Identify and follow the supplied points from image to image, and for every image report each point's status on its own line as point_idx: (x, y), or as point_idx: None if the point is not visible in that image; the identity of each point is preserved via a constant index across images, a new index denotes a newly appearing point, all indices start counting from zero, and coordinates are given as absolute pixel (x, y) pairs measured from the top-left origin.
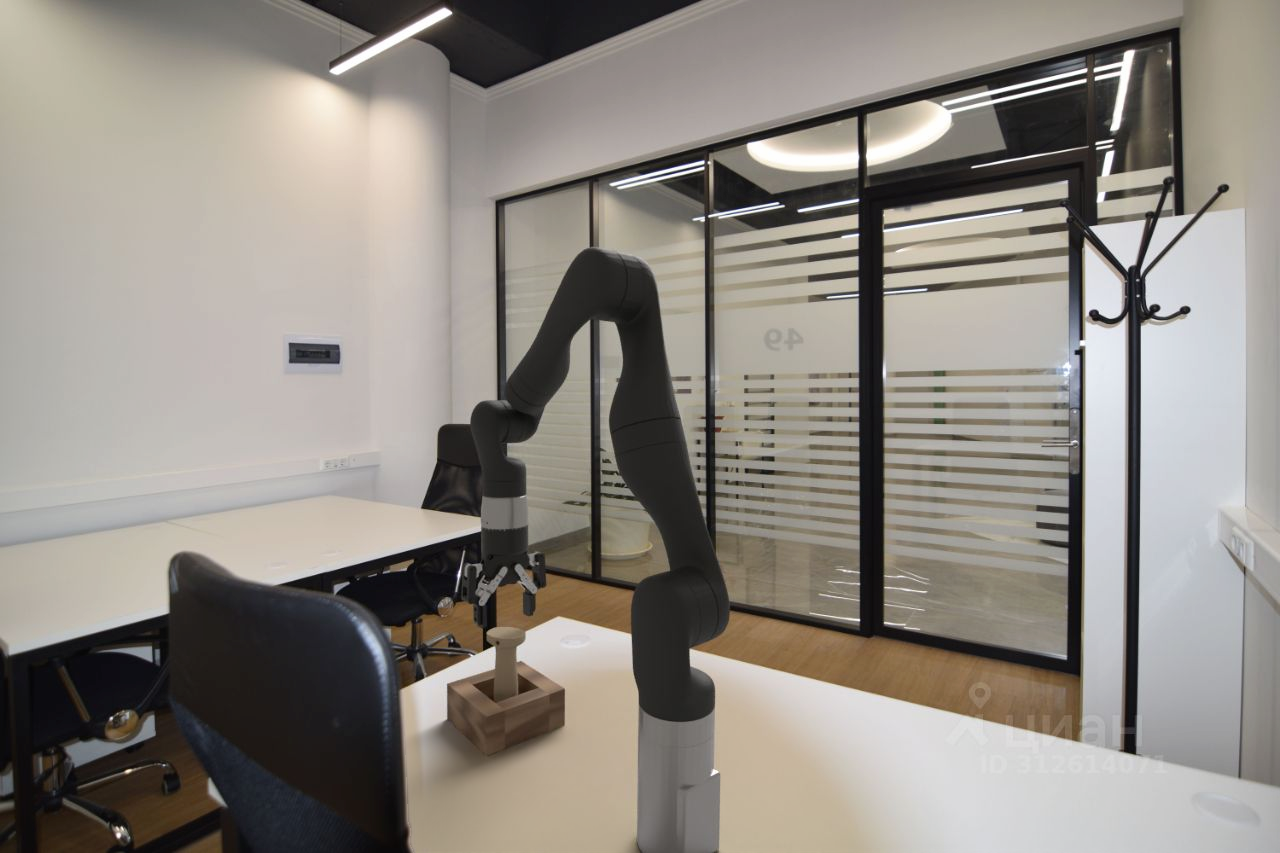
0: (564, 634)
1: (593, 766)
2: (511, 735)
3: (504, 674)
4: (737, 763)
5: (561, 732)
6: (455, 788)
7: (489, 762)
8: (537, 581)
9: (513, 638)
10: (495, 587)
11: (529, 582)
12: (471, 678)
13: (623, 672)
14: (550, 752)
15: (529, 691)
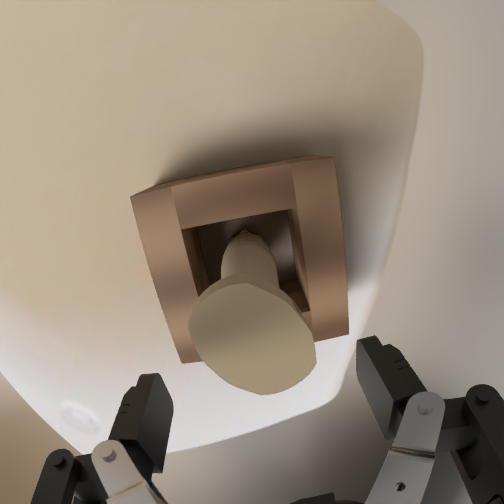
0: (92, 437)
1: (165, 46)
2: (267, 163)
3: (263, 264)
4: (17, 11)
5: (167, 163)
6: (377, 102)
7: (314, 135)
8: (83, 488)
9: (249, 288)
10: (384, 478)
11: (123, 492)
12: None
13: (25, 304)
14: (210, 110)
15: (208, 222)
